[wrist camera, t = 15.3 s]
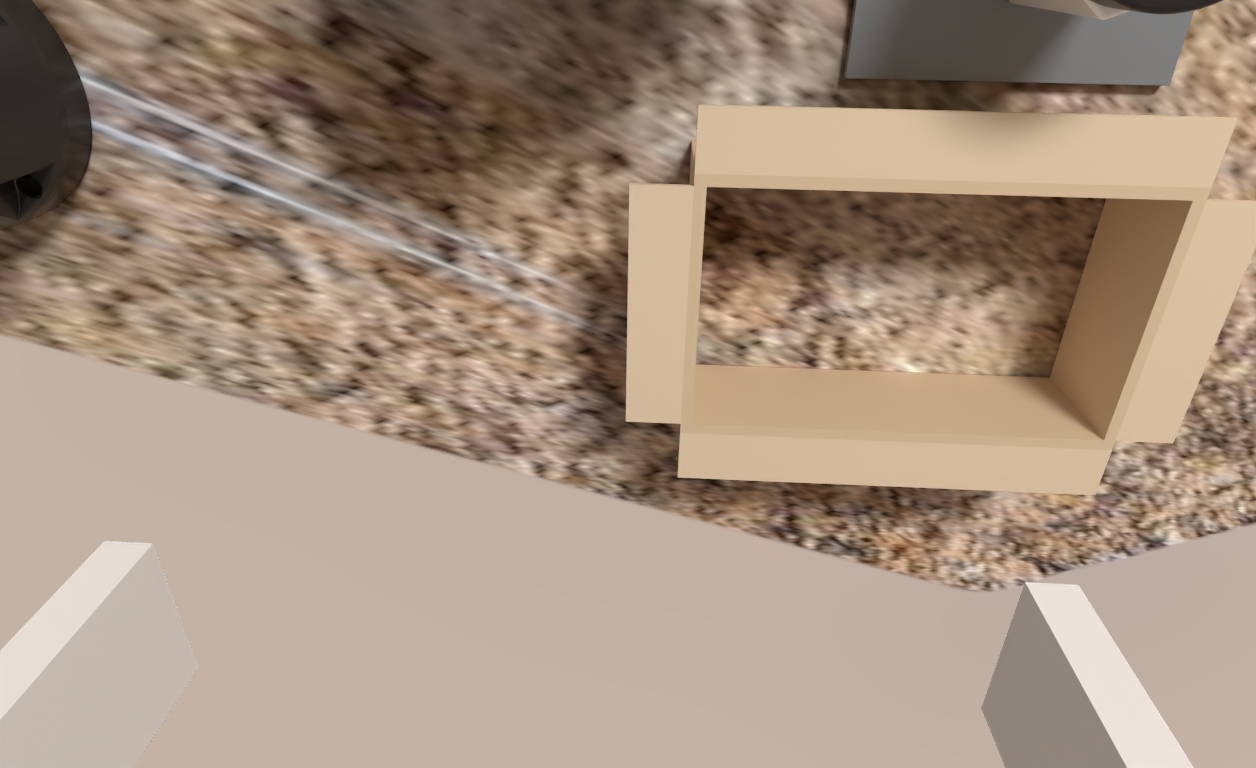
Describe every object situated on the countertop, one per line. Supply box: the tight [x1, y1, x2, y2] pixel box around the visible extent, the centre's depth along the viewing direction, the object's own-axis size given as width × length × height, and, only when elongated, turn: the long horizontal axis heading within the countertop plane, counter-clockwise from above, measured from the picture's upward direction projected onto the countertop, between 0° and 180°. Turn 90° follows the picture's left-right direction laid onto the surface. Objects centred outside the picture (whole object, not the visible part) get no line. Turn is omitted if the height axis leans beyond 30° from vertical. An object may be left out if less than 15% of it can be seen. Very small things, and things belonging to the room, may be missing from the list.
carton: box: [626, 104, 1256, 495], centre depth 42 cm, size 29×20×7 cm
